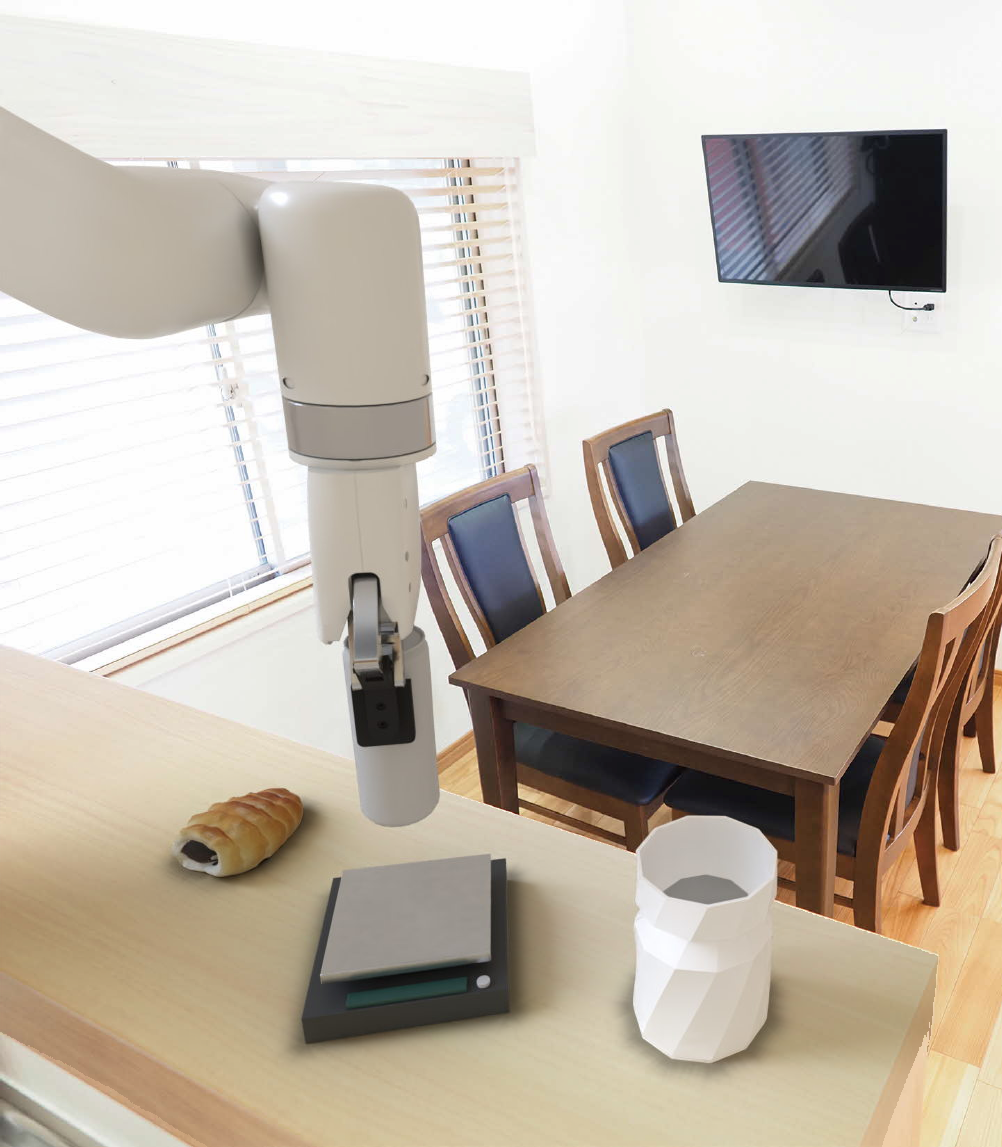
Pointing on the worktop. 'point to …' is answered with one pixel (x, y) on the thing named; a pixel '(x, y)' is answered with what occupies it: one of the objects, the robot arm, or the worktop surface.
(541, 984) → the worktop surface
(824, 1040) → the worktop surface
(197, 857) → the pastry
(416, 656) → the beverage can
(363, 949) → the scale pan
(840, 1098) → the worktop surface
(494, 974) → the scale
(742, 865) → the vase
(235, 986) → the worktop surface
